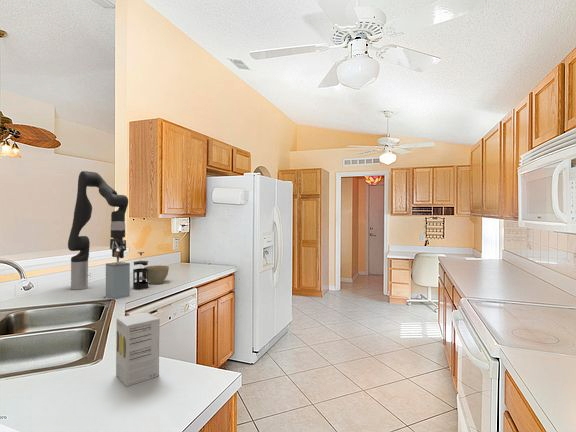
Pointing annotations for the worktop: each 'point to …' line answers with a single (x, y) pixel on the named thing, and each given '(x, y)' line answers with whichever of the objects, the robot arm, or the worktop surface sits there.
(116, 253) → the plunger
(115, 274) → the block
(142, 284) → the french press
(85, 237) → the robot arm
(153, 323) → the supplement box
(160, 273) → the planter bowl
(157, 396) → the worktop surface
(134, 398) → the worktop surface
